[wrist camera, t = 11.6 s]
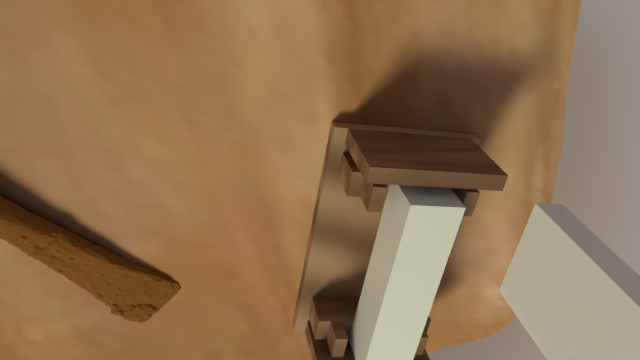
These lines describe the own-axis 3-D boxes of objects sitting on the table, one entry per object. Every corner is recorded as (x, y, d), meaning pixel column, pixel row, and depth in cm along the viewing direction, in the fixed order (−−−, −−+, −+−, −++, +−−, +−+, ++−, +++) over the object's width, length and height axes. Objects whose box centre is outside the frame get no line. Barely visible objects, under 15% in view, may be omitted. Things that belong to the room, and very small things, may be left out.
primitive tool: (184, 283, 46) (183, 312, 43) (142, 322, 47) (138, 353, 44) (-43, 146, 37) (-64, 172, 34) (-88, 200, 38) (-112, 228, 35)
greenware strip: (392, 338, 48) (407, 375, 44) (348, 339, 47) (360, 376, 43) (443, 178, 40) (465, 207, 37) (392, 175, 39) (410, 205, 36)
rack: (331, 121, 41) (355, 166, 35) (476, 133, 44) (520, 176, 38) (292, 323, 50) (305, 385, 44) (414, 321, 53) (441, 379, 47)
